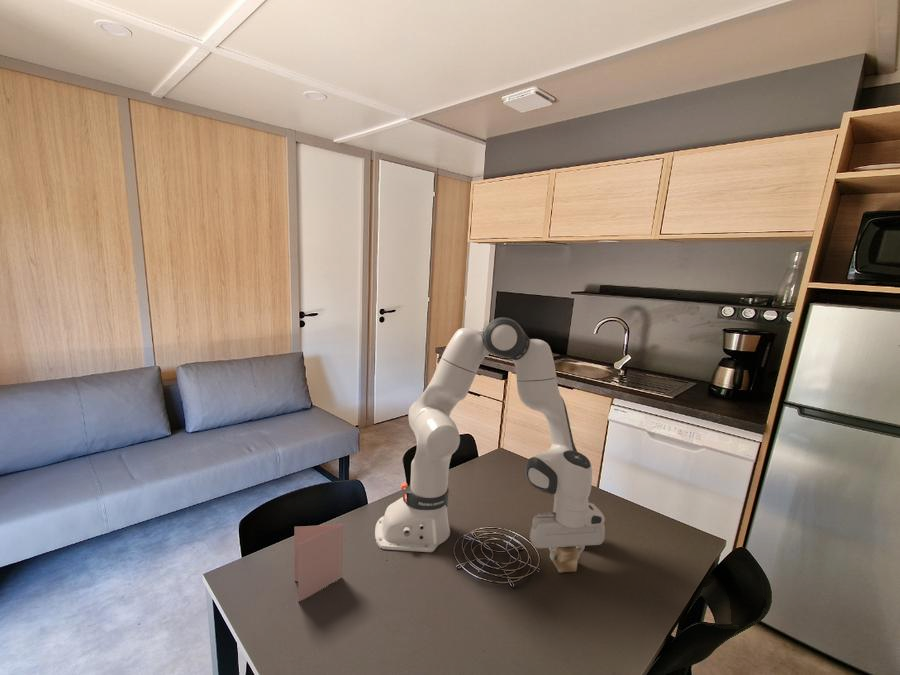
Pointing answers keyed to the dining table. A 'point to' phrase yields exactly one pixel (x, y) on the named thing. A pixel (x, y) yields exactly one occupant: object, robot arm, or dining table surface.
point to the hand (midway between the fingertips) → (564, 558)
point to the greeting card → (317, 557)
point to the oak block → (566, 559)
